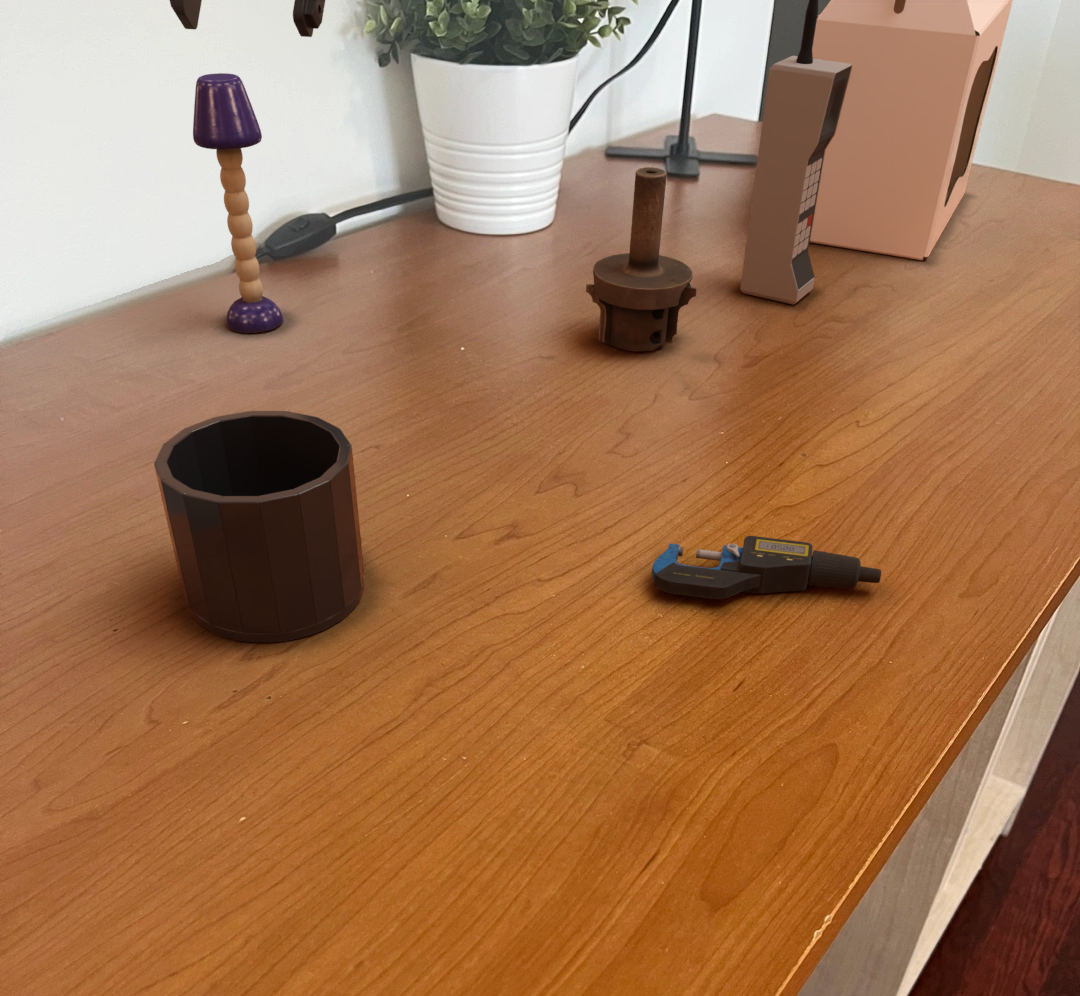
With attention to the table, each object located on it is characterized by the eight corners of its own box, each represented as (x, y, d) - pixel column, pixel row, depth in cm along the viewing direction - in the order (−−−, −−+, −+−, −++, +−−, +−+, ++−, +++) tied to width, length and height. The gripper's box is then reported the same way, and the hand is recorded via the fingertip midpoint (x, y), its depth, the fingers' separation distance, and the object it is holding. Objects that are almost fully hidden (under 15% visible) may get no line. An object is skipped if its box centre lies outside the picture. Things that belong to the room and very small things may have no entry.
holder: (150, 618, 58) (115, 479, 52) (246, 530, 64) (223, 398, 59) (310, 660, 55) (289, 518, 50) (393, 564, 62) (382, 429, 57)
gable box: (925, 262, 99) (1020, -135, 81) (779, 239, 103) (838, -145, 85) (964, 194, 115) (1051, -153, 96) (836, 176, 119) (896, -161, 100)
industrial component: (573, 351, 84) (580, 178, 76) (600, 316, 89) (609, 151, 81) (697, 371, 82) (718, 195, 74) (718, 333, 87) (739, 165, 79)
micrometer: (649, 569, 59) (663, 521, 62) (646, 599, 60) (661, 550, 64) (883, 599, 57) (883, 548, 60) (875, 630, 58) (877, 577, 62)
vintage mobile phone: (795, 306, 91) (859, -69, 75) (739, 293, 93) (788, -76, 77) (812, 292, 94) (877, -75, 77) (757, 279, 96) (808, -81, 79)
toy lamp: (212, 320, 87) (169, 75, 76) (262, 304, 89) (228, 65, 78) (247, 338, 84) (209, 88, 73) (299, 322, 87) (269, 77, 76)
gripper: (160, -246, 77) (121, -19, 76) (362, -240, 75) (325, -8, 74) (205, -152, 84) (170, 55, 83) (390, -145, 82) (356, 67, 81)
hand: (243, 25), depth 78 cm, fingers open, 8 cm apart
